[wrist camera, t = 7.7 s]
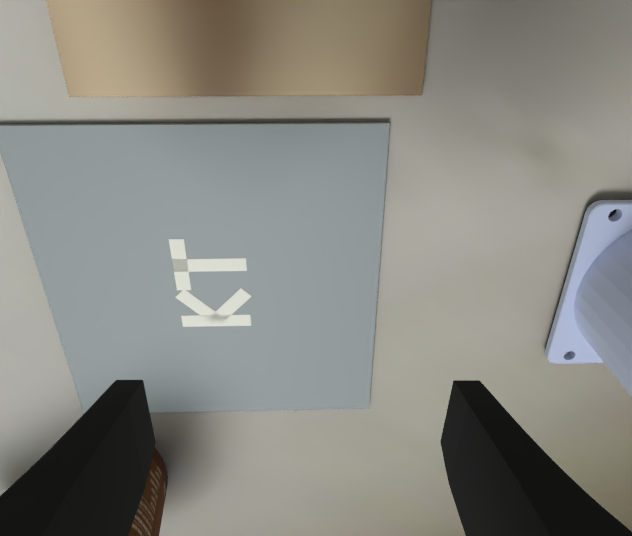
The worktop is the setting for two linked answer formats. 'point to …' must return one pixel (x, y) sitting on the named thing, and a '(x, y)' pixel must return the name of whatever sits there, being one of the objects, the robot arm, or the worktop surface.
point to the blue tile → (208, 257)
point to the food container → (151, 500)
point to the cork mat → (241, 47)
